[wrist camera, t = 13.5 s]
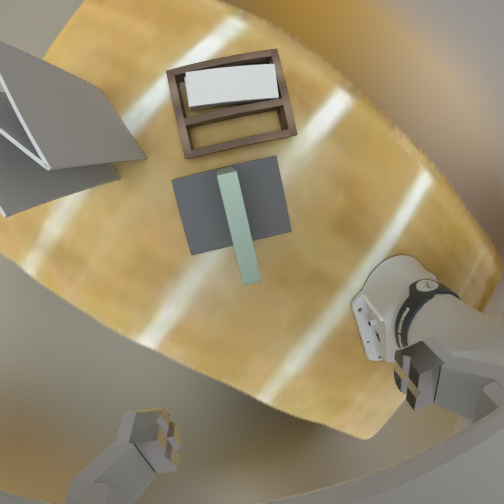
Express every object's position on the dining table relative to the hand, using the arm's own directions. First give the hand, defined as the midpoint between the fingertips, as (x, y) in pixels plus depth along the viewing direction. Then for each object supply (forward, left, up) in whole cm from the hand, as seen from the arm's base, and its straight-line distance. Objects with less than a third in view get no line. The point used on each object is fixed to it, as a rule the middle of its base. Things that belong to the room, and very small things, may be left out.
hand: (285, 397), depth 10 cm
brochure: (+16, +16, -41) cm, 47 cm away
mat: (0, 0, -41) cm, 41 cm away
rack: (+15, -3, -41) cm, 44 cm away
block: (0, 0, -40) cm, 41 cm away
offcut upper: (+17, -4, -38) cm, 42 cm away
